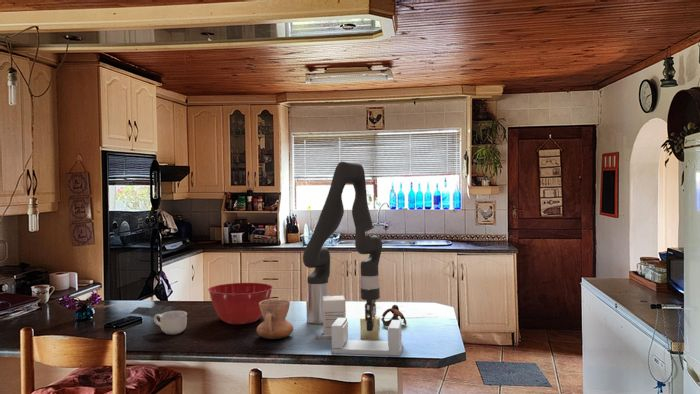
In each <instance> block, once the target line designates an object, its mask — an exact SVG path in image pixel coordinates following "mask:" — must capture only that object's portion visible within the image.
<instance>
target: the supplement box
mask: <svg viewBox="0 0 700 394" xmlns="http://www.w3.org/2000/svg"><path fill="white" fill-rule="evenodd" d="M345 298H346V297H345V296H344V295H328V296H323V323H322V330H323V331H322V332H323V335H325V336H332V327H331V326H332V324H333V323H334V322H335V321H336V319H337V318H347V317H346V315H347V313H346V312H347V311H346V310H347V309H346V308H347V307H346V299H345Z"/></svg>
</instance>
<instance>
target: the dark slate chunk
mask: <svg viewBox="0 0 700 394" xmlns="http://www.w3.org/2000/svg"><path fill="white" fill-rule="evenodd" d="M169 311H177V309H176V307H175V306H171V305H170V306H169V305H166V306H164V305H157V304H155V305H153V306H152V307H145V306H144V307H142V306H138V307H136V308H135V309H133V310H132V311H131V312H130V313H129V314H133V315H140V316H145V317H153V318H154V316H155V315H157V314H163V313H165V312H169Z"/></svg>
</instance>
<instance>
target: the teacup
mask: <svg viewBox="0 0 700 394" xmlns="http://www.w3.org/2000/svg"><path fill="white" fill-rule="evenodd" d="M187 316H188V312H187V311H184V310H176V311H169V312H165V313H163V314H157V315H155V316H154V317H153V321H154V323H155V324H156V325H157V326H159V328H160V329H161V332H163V333H165V334H166V335H178V334H180V333H182V332H184V330H185V329H186V328H187V326H188V325H187V323H188V322H187V321H188V317H187ZM158 318H159V319H160V320H159V321H158Z"/></svg>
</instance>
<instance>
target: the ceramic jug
mask: <svg viewBox="0 0 700 394" xmlns="http://www.w3.org/2000/svg"><path fill="white" fill-rule="evenodd" d="M290 306H291V301H290V300H289V299H286V298H281V299H279V298H269V299H268V300H264V301H261V302H260V303H259V307H260V310H261V313H262V318H263V319H264V320H263V321H262V322H261V323H260V324H258V326H257V327H256V333H257V334H258V336H259V337H261V338H263V339H268V340H269V339H270V340H277V339H280V340H281V339H283V338H287V337H289V336H290V335H291V334H292V333H293V332H294V326H293V324H292V323H291V322H289V321H288V320H287V319H286V318H287V316H288V313H289V310H290Z"/></svg>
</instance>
